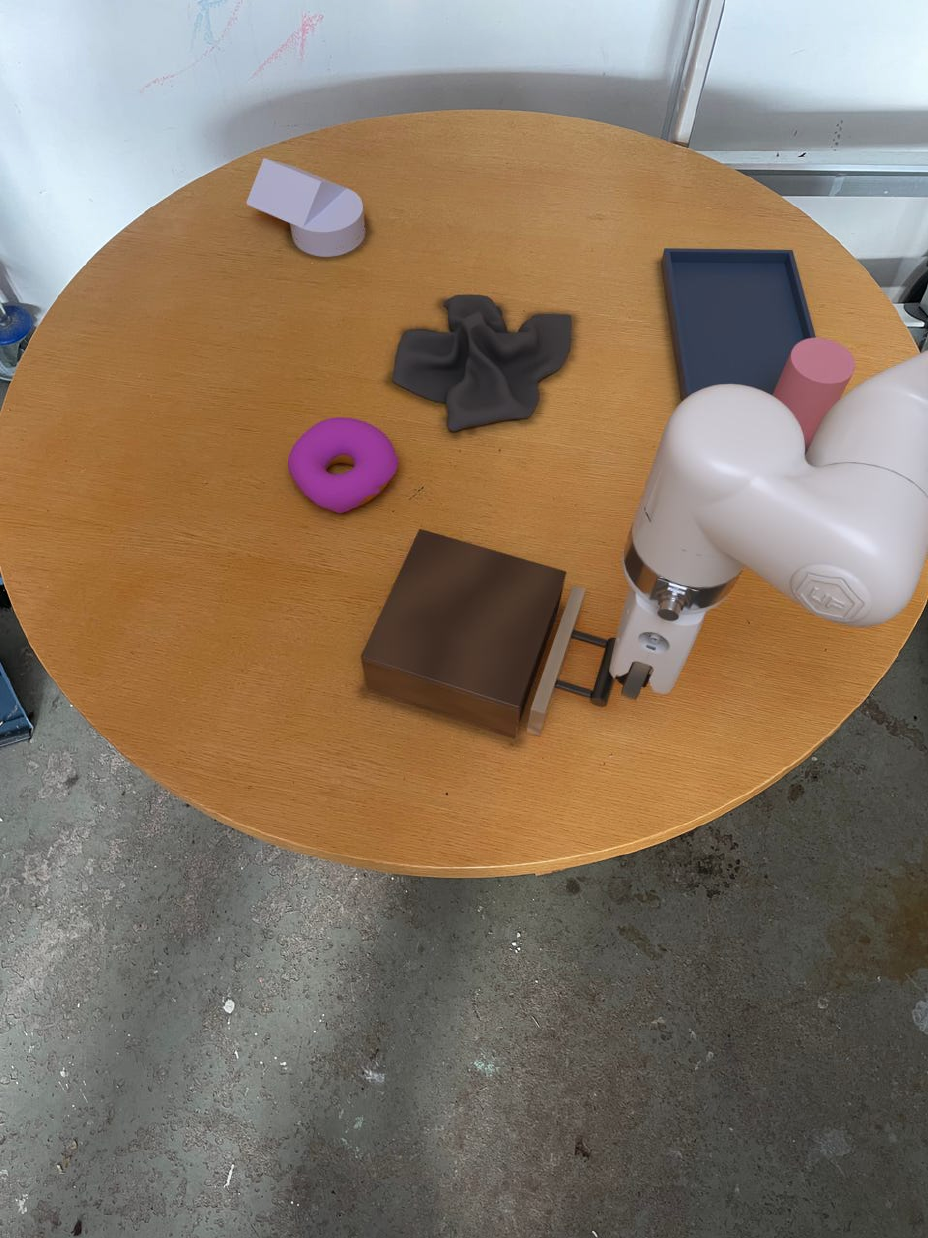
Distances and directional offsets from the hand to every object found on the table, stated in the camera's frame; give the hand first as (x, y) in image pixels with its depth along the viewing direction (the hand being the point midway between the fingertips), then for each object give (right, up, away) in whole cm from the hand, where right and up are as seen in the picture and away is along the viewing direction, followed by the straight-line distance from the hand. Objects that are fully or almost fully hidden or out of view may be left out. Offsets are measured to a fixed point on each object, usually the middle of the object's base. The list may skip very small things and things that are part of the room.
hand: (628, 674), depth 72 cm
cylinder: (+20, +24, +18) cm, 36 cm away
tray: (+17, +34, +25) cm, 45 cm away
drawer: (-9, +1, +5) cm, 10 cm away
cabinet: (-14, +2, +6) cm, 15 cm away
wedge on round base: (-32, +53, +35) cm, 71 cm away
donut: (-26, +19, +16) cm, 36 cm away
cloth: (-11, +34, +25) cm, 43 cm away
